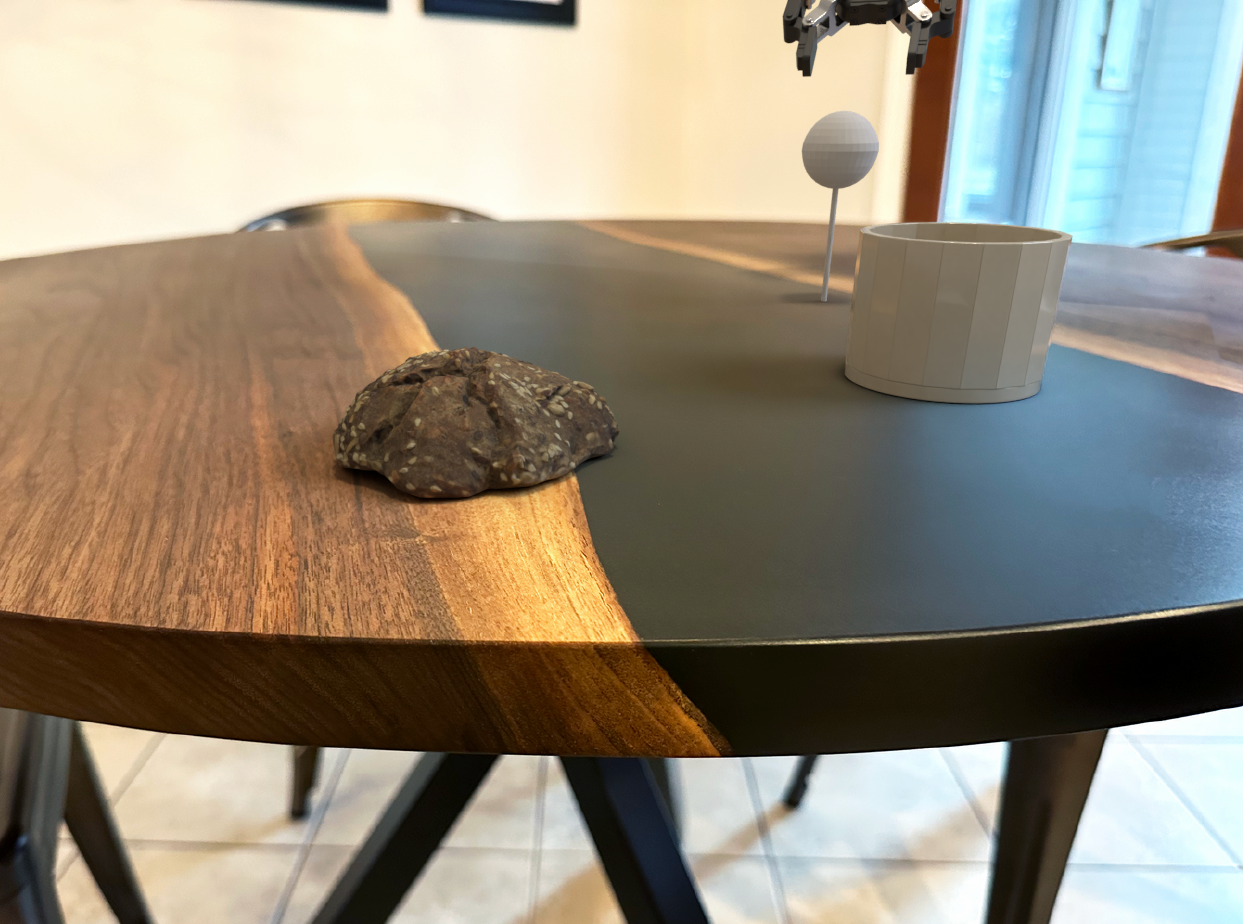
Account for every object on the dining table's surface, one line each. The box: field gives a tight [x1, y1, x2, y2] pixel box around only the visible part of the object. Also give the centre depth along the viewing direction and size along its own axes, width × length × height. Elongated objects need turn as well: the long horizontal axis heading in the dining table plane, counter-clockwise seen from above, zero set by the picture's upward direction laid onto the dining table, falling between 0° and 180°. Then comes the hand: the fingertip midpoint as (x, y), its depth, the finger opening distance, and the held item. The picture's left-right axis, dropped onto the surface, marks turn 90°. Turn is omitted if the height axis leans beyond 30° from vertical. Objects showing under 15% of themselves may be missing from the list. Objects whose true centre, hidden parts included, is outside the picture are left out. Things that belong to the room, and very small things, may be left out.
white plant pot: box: [844, 221, 1074, 404], centre depth 55 cm, size 11×11×8 cm
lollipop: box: [801, 110, 880, 302], centre depth 78 cm, size 6×6×15 cm
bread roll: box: [332, 346, 621, 499], centre depth 44 cm, size 13×12×5 cm
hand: (857, 67), depth 80 cm, fingers open, 8 cm apart
